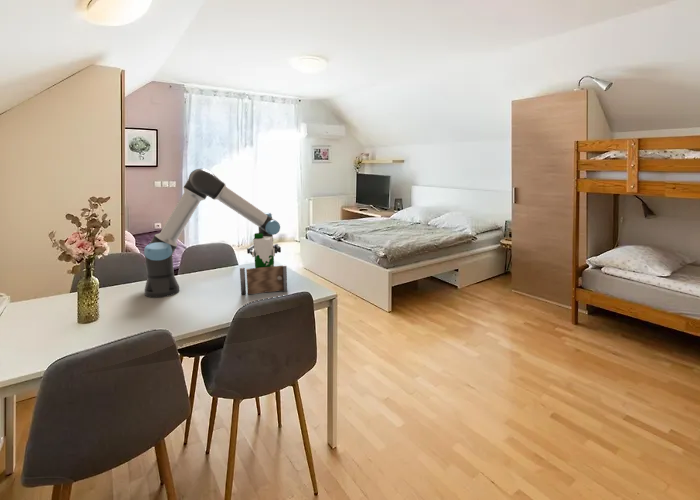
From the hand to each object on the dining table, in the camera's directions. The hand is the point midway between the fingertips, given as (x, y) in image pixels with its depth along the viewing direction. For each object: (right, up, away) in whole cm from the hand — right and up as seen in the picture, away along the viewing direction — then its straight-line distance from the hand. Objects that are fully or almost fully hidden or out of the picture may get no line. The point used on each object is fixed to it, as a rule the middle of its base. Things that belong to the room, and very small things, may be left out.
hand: (263, 253), depth 192 cm
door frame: (0, -19, 0) cm, 19 cm away
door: (+2, -18, 0) cm, 19 cm away
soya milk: (-1, -10, +7) cm, 12 cm away
